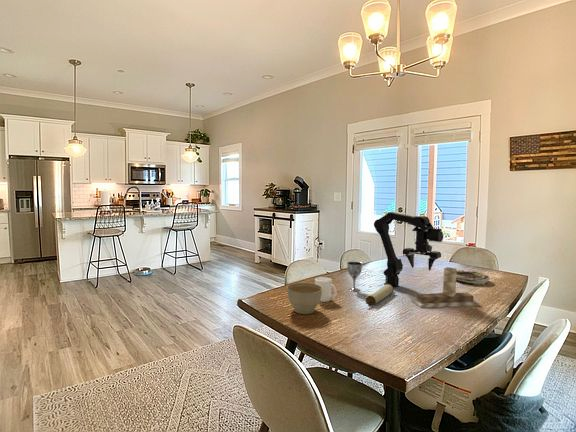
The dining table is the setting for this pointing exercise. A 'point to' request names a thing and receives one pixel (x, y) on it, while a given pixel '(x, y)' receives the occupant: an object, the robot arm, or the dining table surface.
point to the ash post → (449, 281)
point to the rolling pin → (379, 295)
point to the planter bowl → (304, 297)
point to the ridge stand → (444, 300)
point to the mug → (326, 288)
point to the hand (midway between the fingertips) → (421, 268)
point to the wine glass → (354, 273)
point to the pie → (471, 277)
